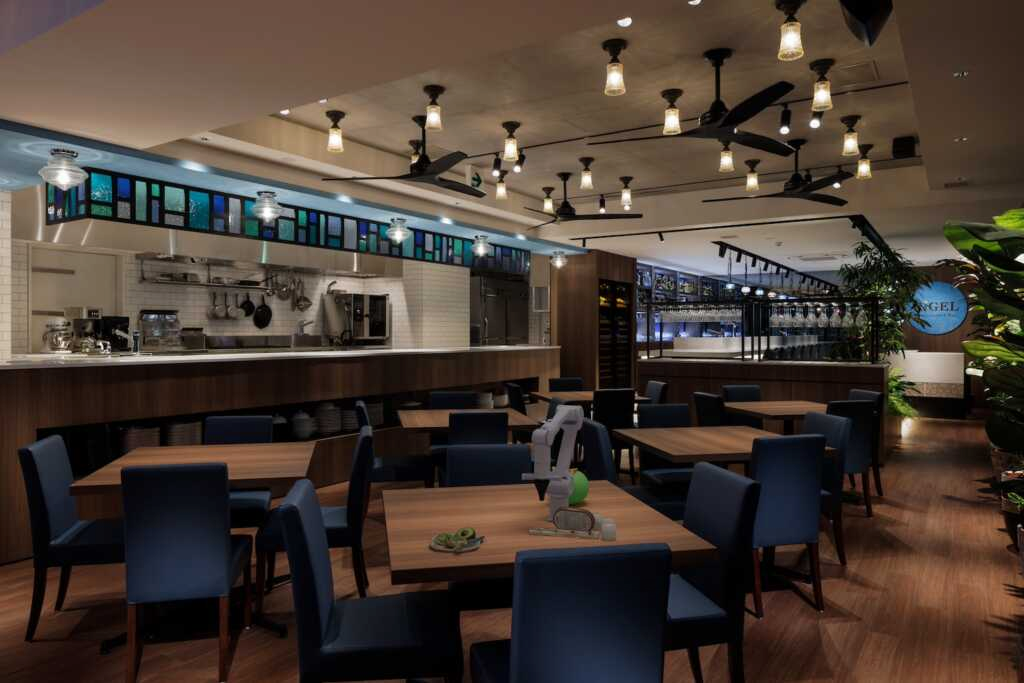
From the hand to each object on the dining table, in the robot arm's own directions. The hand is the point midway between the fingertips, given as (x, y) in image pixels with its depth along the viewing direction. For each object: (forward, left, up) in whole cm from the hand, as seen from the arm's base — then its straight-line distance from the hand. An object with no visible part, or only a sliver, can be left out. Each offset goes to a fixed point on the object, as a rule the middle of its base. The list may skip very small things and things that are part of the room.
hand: (541, 500), depth 248 cm
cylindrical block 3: (+6, +25, -10) cm, 27 cm away
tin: (0, +12, -11) cm, 16 cm away
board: (+5, +9, -10) cm, 15 cm away
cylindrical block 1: (-6, +19, -10) cm, 22 cm away
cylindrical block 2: (-1, +24, -10) cm, 26 cm away
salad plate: (+25, -24, -11) cm, 37 cm away
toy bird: (-42, +4, -10) cm, 43 cm away
